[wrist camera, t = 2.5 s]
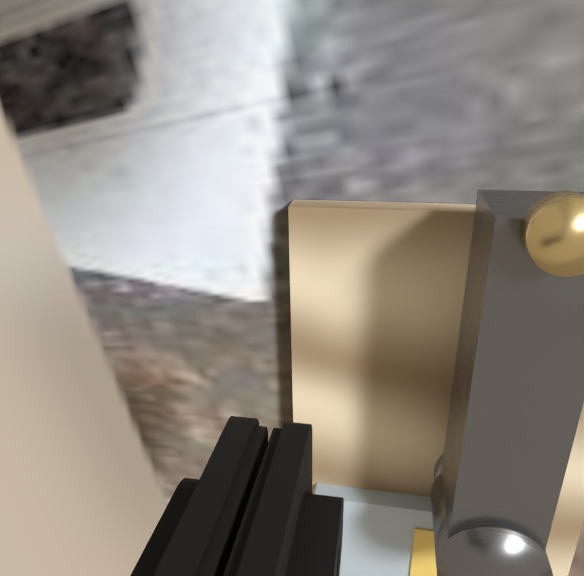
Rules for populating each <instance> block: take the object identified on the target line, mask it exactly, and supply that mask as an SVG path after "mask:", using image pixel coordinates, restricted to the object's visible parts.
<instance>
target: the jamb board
mask: <svg viewBox="0 0 584 576" xmlns="http://www.w3.org/2000/svg"><path fill="white" fill-rule="evenodd" d="M475 208H476V204H442V203H404V202H366V201H328V200H293V201H292V202H291V204H290V205H289V206H288V218H289V262H290V305H291V349H292V392H293V422H295V423H305V424H311V425H312V494H315V489H316V484H317V483H321V484H329V485H337V486H345V487H353V488H361V489H369V490H378V491H386V492H394V493H402V494H410V495H418V496H426V497H431V487H432V485H433V482H434V467H435V464H436V462H437V460H438V459H439V457H440V456H441V455H442V454H443V453H444V446H445V438H446V431H447V423H448V415H449V408H450V400H451V392H452V385H453V377H454V369H455V362H456V354H457V346H458V338H459V331H460V323H461V315H462V308H463V300H464V292H465V285H466V277H467V269H468V262H469V254H470V246H471V238H472V231H473V223H474V215H475ZM583 522H584V403H583V407H582V411H581V415H580V419H579V422H578V426H577V430H576V434H575V438H574V442H573V446H572V449H571V453H570V457H569V461H568V465H567V469H566V473H565V476H564V480H563V484H562V488H561V492H560V496H559V499H558V503H557V507H556V511H555V515H554V519H553V523H552V526H551V530H550V534H549V538H548V542H547V546H546V553H547V556H548V559H549V563H550V566H551V569H552V573H553V576H568V573H569V570H570V566H571V563H572V559H573V556H574V553H575V549H576V546H577V542H578V539H579V536H580V532H581V529H582V525H583Z"/></svg>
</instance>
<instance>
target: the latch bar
mask: <svg viewBox="0 0 584 576" xmlns="http://www.w3.org/2000/svg"><path fill="white" fill-rule="evenodd" d="M583 403H584V192H573V191H561V192H551V191H504V190H478V192H477V200H476V208H475V215H474V223H473V231H472V238H471V246H470V254H469V262H468V269H467V277H466V285H465V292H464V300H463V308H462V315H461V323H460V331H459V338H458V346H457V354H456V362H455V369H454V377H453V385H452V392H451V400H450V408H449V415H448V423H447V431H446V438H445V446H444V454H443V462H442V469H441V474H439V476H438V477H437V478H436V479H435V481H434V482H433V485H432V487H431V508H432V520H433V533H434V545H435V557H436V569H437V576H553V573H552V569H551V566H550V563H549V559H548V556H547V553H546V546H547V542H548V538H549V534H550V530H551V526H552V523H553V519H554V515H555V511H556V507H557V503H558V499H559V496H560V492H561V488H562V484H563V480H564V476H565V473H566V469H567V465H568V461H569V457H570V453H571V449H572V446H573V442H574V438H575V434H576V430H577V426H578V422H579V419H580V415H581V411H582V407H583Z"/></svg>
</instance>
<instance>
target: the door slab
mask: <svg viewBox="0 0 584 576" xmlns="http://www.w3.org/2000/svg"><path fill="white" fill-rule="evenodd" d="M315 494H318V495H326V496H334V497H342V498H344V510H343V536H342V551H341V564H340V574H339V576H437V569H436V557H435V545H434V533H433V520H432V508H431V497H426V496H418V495H410V494H402V493H394V492H386V491H378V490H369V489H361V488H353V487H345V486H337V485H329V484H321V483H317V484H316V489H315Z"/></svg>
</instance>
